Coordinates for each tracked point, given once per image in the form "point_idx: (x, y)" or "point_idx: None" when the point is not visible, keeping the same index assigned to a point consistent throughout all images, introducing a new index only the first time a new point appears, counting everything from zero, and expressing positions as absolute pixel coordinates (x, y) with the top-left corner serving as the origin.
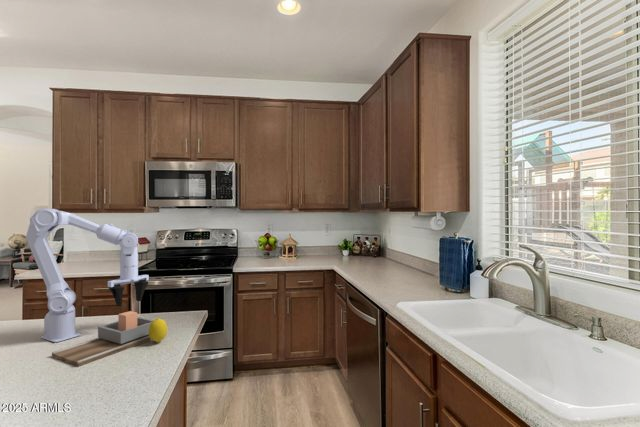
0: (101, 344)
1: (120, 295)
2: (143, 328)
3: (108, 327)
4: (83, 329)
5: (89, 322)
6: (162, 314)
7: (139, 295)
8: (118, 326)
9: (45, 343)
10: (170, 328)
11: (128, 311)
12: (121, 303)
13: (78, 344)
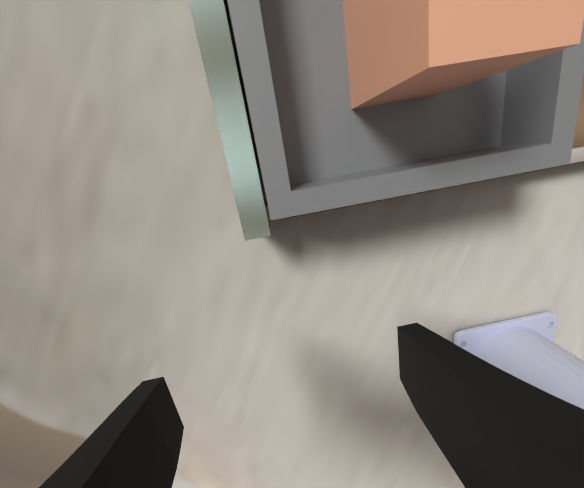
0: None
1: (567, 426)
2: None
3: (493, 150)
4: (404, 402)
5: (345, 471)
6: (24, 381)
7: (130, 463)
8: (411, 163)
9: (562, 334)
10: (70, 46)
11: (449, 62)
12: (420, 337)
13: (582, 157)
